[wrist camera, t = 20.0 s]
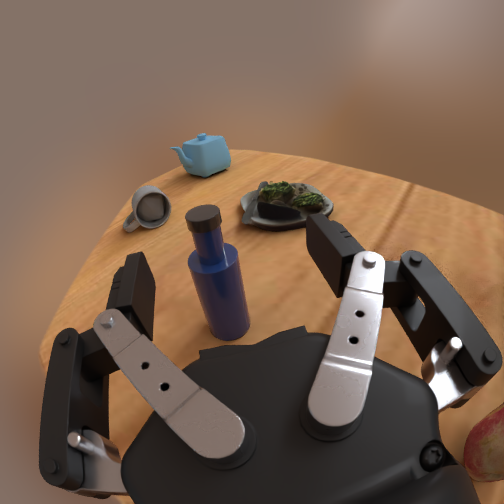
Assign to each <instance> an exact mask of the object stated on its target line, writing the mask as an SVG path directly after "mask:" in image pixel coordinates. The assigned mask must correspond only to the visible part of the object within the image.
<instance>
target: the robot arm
mask: <svg viewBox="0 0 504 504" xmlns="http://www.w3.org/2000/svg"><path fill="white" fill-rule="evenodd" d="M306 244H307V249H308V252H309V254H310V256H311V257H312V259H313V260H314V262H315V263H316V265H317V267H318V268H319V270H320V271H321V273H322V274H323V276H324V278H325V279H326V281H327V282H328V284H329V286H330V287H331V289H332V291H333V292H334V294H335V295H336V297H337V298H340V297H342V301H341V304H340V308H339V311H338V315H337V318H336V321H335V325H334V328H333V331H332V334H331V335H327V334H323V333H307V331H306V328H305V326H301V327H297V328H293V329H290V330H286V331H282V332H279V333H277V334H275V335H273V336H271V337H269V338H267V339H265V340H263V341H261V342H259V343H257V344H254V345H224V346H220V347H215V348H210V349H205V350H200V351H199V354H200V359H198V360H196V361H194V362H192V363H191V364H189V365H188V366H186V367H185V368H184V369H183V370H182V371H181V370H180V369H179V368H178V367H177V366H176V365H175V364H174V363H173V362H172V361H170V360H169V359H168V358H167V357H166V356H165V355H164V354H163V353H162V352H161V351H160V350H159V349H158V348H157V347H156V346H155V345H154V344H153V343H152V342H151V341H153V321H154V304H155V290H156V286H155V280H154V277H153V274H152V272H151V270H150V267H149V265H148V263H147V260H146V258H145V255H144V253H143V252H138V253H133V254H129V255H127V257H126V261H125V265H124V266H123V267H120V268H119V269H118V271H117V272H116V273H115V275H114V278H113V282H112V283H113V284H112V286H111V290H110V294H109V298H108V302H107V307H106V310H105V311H103V312H102V313H100V314H99V315H98V316H97V318H96V319H95V321H94V324H93V328H91V329H89V330H87V331H85V332H83V333H81V334H79V333H78V332H77V331H76V330H75V329H74V328H67V329H64V330H62V331H61V332H60V333H59V334H58V335H57V336H56V338H55V340H54V343H53V347H52V352H51V356H50V361H49V366H48V372H47V377H46V384H45V390H44V397H43V404H42V413H41V425H40V441H39V469H40V473H41V475H42V477H43V478H44V480H46V482H47V483H49V484H51V485H53V486H56V487H59V488H62V489H65V490H66V491H69V492H72V493H76V494H79V495H83V496H87V497H94V498H98V499H106V498H108V497H110V496H111V495H125V496H130V497H131V499H132V500H133V502H134V503H135V504H481V503H480V501H479V498H478V496H477V493H476V491H475V488H474V486H473V484H472V481H471V479H470V477H469V474H468V473H467V471H466V469H465V468H464V467H463V466H462V465H461V464H460V463H459V462H458V461H457V460H456V459H455V458H454V457H453V456H452V455H451V454H450V453H449V452H448V450H447V449H446V448H445V446H444V445H443V443H442V440H441V436H440V431H439V421H438V414H439V413H441V412H443V411H444V410H446V409H448V408H449V407H451V408H459V407H461V406H463V405H464V404H465V403H466V402H467V401H468V400H469V399H470V398H472V397H473V396H474V395H475V394H476V393H477V392H478V391H479V390H480V389H481V388H482V387H483V386H484V385H485V384H486V383H487V382H488V381H489V380H490V379H491V378H492V377H493V376H494V375H495V374H496V373H497V372H498V371H499V370H500V368H501V366H502V355H501V352H500V350H499V349H498V347H497V346H496V344H495V343H494V341H493V340H492V338H491V337H490V335H489V334H488V332H487V331H486V329H485V328H484V327H483V325H482V324H481V322H480V321H479V320H478V318H477V317H476V316H475V314H474V313H473V312H472V310H471V309H470V308H469V306H468V305H467V304H466V303H465V301H464V300H463V299H462V297H461V296H460V295H459V294H458V293H457V291H456V290H455V289H454V288H453V286H452V285H451V284H450V283H449V282H448V281H447V279H446V278H445V277H444V276H443V275H442V274H441V272H440V271H439V270H438V269H437V268H436V267H435V266H434V264H433V263H432V262H431V261H430V260H429V259H428V258H427V257H426V256H425V255H424V254H422V253H420V252H418V251H412V250H410V251H406V252H404V253H403V254H402V256H401V259H400V261H385V260H384V258H383V257H382V256H381V255H379V254H377V253H375V252H371V251H365V249H364V248H363V247H362V246H361V245H360V244H359V243H358V242H357V240H356V239H355V238H354V237H352V235H351V234H350V233H349V232H348V231H347V230H346V228H345V227H344V226H343V225H342V224H340V223H338V222H336V221H334V220H333V221H329V220H328V218H327V217H326V216H325V215H324V214H323V213H317V214H312V215H308V216H307V217H306ZM418 296H419V297H420V298H421V300H422V301H423V302H424V305H425V307H424V306H423V304H422V303H421V301H420V300H419V299H418ZM382 308H391V310H392V311H393V313H394V314H395V316H396V318H397V319H398V321H399V322H400V324H401V326H402V327H403V329H404V331H405V332H406V334H407V336H408V337H409V339H410V341H411V342H412V344H413V346H414V347H415V349H416V351H417V353H418V354H419V356H420V358H421V360H422V361H423V364H422V367H421V374H422V377H423V380H422V379H420V378H418V377H416V376H414V375H412V374H410V373H408V372H406V371H403V370H401V369H399V368H397V367H395V366H393V365H391V364H389V363H387V362H385V361H382V360H380V359H378V358H376V357H374V355H375V349H376V344H377V338H378V332H379V326H380V320H381V313H382ZM120 369H121V370H122V372H123V373H124V374H125V375H126V377H127V378H128V379H129V381H130V382H131V383H132V384H133V385H134V387H135V388H136V389H137V390H138V392H139V393H140V394H141V395H142V396H143V397H144V399H145V400H146V401H147V402H148V403H149V404H150V405H151V407H152V408H153V409H154V411H153V412H152V414H151V415H150V417H149V418H148V420H147V421H146V423H145V424H144V426H143V427H142V429H141V430H140V432H139V433H138V435H137V436H136V438H135V439H134V441H133V442H132V444H131V445H130V447H129V448H128V450H127V451H126V453H125V454H124V456H123V459H122V460H121V458H120V455H119V451H118V448H117V447H116V445H115V444H114V443H113V442H111V441H110V440H109V374H111V373H113V372H115V371H117V370H120Z"/></svg>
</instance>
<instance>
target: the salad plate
mask: <svg viewBox="0 0 504 504" xmlns="http://www.w3.org/2000/svg"><path fill="white" fill-rule="evenodd" d="M241 205H242V208H243V209H244V211H245V213H244V214H243V217H242V222H243V223H244V224H252V225H255V226H257V227H258V228H260V229H263V230H268V231H287V230H293V229H299V228H304V227H306V217H307V216H308V215H312V214H317V213H323V214H324V215H325V216H326V217H328V216H329V215H330V214H331V213H332V211H333V203H332V201H331V200H330V199H328V198H327V197H326V196H325V195H323V194H322V193H321V192H320V191H319V190H317V189H316V188H314V187H313V186H311V185H308V184H302V183H291V184H288V183H287V182H284V181H282V183H281V182H278V183H273V182H272V181H270V185H269V184H268V182H266V181H265V182H261V183H260V185H259V187H258V190H255V191H252V192H249V193H247V194H246V195H244V196H243V197H242V198H241Z"/></svg>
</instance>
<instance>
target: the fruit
mask: <svg viewBox="0 0 504 504" xmlns="http://www.w3.org/2000/svg"><path fill="white" fill-rule="evenodd" d="M464 463H465V468H466V471H467V472H468V474H469V475H470V477H471V478H472V479H473V480H476V481H480V482H494V481H500V480H504V403H503V404H501V405H500V406H499V407H498V408H496V409H495V410H493V411H492V412H491V413H490V414H488V415H487V416H486V417H485V418H484V419H482V420H481V421H480V422H479V423H478V424H476V425H475V426H474V427H473V429H472V430H471V431H470V433H469V435H468V438H467V440H466V444H465V448H464Z"/></svg>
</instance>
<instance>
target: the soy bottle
mask: <svg viewBox="0 0 504 504" xmlns="http://www.w3.org/2000/svg"><path fill="white" fill-rule="evenodd" d="M185 219H186V223H187V226H188V229H189V231H191V233H192V236H193V240H194V244H195V248H196V250H194V251H193V252H192V253H191V255H190V256H189V258H188V266H189V269H190V272H191V275H192V279H193V282H194V285H195V288H196V291H197V294H198V297H199V300H200V303H201V306H202V309H203V311H204V314H205V317H206V320H207V323H208V326H209V328H210V331H211V333H212V334H213V335H214V336H215V337H216V338H218V339H220V340H225V341H230V340H235V339H238V338H240V337H242V336H243V335H244V334H245V333H246V332H247V331H248V329H249V327H250V319H249V313H248V308H247V302H246V297H245V291H244V285H243V280H242V274H241V269H240V263H239V257H238V252H237V250H236V248H235V247H234V246H232V245H230V244H228V243H224V242H223V237H222V232H221V227H220V225H221V222H222V220H221V215H220V209H219V208H218V207H217V206H215V205H201V206H197V207H195V208H193V209H191V210H189V211H188V212H187V213H186V215H185Z"/></svg>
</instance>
